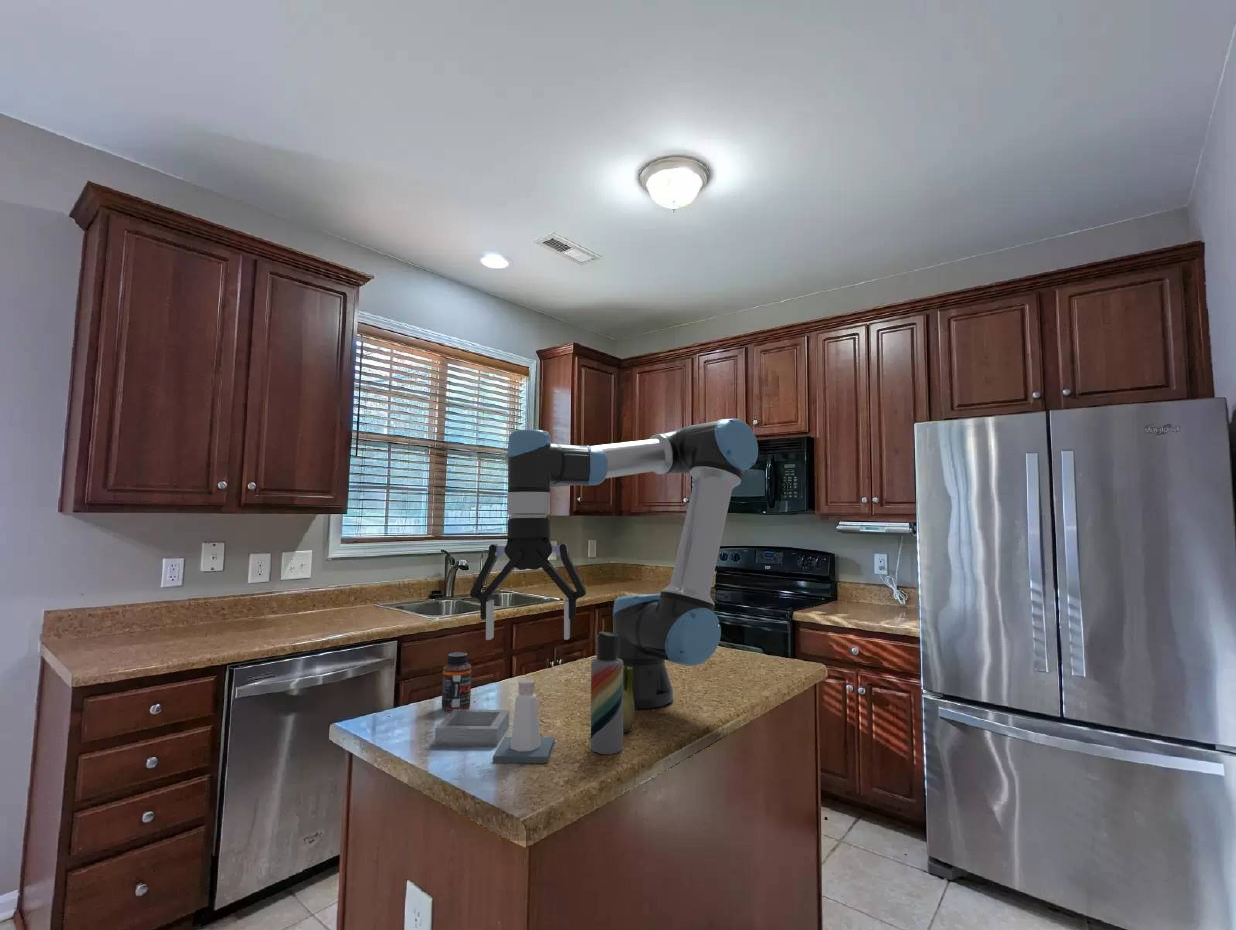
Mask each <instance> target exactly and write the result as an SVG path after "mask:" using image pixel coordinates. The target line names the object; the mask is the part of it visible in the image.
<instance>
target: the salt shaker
mask: <svg viewBox="0 0 1236 930" xmlns="http://www.w3.org/2000/svg"><path fill="white" fill-rule="evenodd" d="M535 683H536V681H535V680H534V679H531V678H524V679H520V680H519V681H518V683H517V684H518V694H516V696H515V703H514V711H513V712H514V713H513V720H512V721H513V722H512V730H511V731H512V732H511V737H512V738H511V747H510V748H511V749H512V750H515V751H518V752H528V751H533V750H536V749H538V748H540V737H541V733H540V721H539V711H538V708H539V707H538V706H539V705H538V698H537V697H538V696H537V694H536V693H535V691H534V690H535Z"/></svg>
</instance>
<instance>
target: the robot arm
mask: <svg viewBox="0 0 1236 930" xmlns="http://www.w3.org/2000/svg"><path fill="white" fill-rule="evenodd" d="M758 455H759V445H758V441H757V438H756V435H755V433H754V431H753V429H752V428H751V426H749V424H747V423H746V422H745V421H743V420H741V419H739V418H721V419H719V420H714V421H710V422H704V423H699V424H698V423H697V424H693V425H689V426H685V427H682V428H678V429H676V430H675V429H674V430H672V431H668V432H664V433H657V434H653V435H651V436H650V437H649V438H648V439H643V440H634V441H623V442H615V443H606V444H597V445H588V444H587V445H573V444H558V443H553V442H552V440H551V435H550V433H549V432H548V431H547V430H541V429H517V430H515V431H512V432H510V434H509V435H508V443H507V454H506V458H507V488H508V489H507V506H506V507H507V515H508V516H510V518H508V519H507V522H506V523H507V524H506V525H507V528H506V529H507V531H506V532H507V533H506V534H507V536H506V537H507V538H506V544H505V545H498V544H497V543H492V544H490V545H489V547H488V551H487V552H488V553H487V558H486V560H485V562H484V564H483V566H482V568H481V569H480V572H479V573H478V576H477V578H476V580H475V582H474V584H473V586H472V588H471V590H470V592H469V596H470V598H473V599H476V600H478V601H479V602H480V603H479V604H480V607H479V608H480V609H479V610H480V611H479V612H480V613H479V615H480V619H481V620H482V621H483V620H485V640H486V641H490V640H492V639H493V638H494V636H495V599H490V598H491V596H492V595H494V594H495V592H496V591H497V590H498V588H499V587H500V586H501V585H502V583H503V582H504V581H505V580H506V579H507V578H508V577H509V575H510V574H511V573H512V572H513V571H514V570H515V569H517V570H519V571H524V570H533V571H537V570H539V569H540V568H541V569H542V570H543V571H544V572H545V573H546V574H547V576H548V577H550V579H551V580H552V581H553V582H554V584H555V585H556V586H557V587H558V588H559V590H560V591H561V592H562V593H563V594H564V596H565V597H566V598H567V599H564V600H563V621H564V622H563V639H564V640H566V641H567V640H569V639H570V637H571V620H575V619H576V616H577V600H578V599H580V598H583V597H585V596H586V594H587V589H586V587H585V585H584V583H583V581H582V579H581V577H580V575H579V573H578V571H577V569H576V567H575V565H574V564H573V561H572V559H571V557H570V556H569V555H570V554H569V546H568V544H567V543H561V544H557V545H556V544H555V545H553V544H552V543H551V521H550V517H548V516H549V515H550V514H551V488H558V487H559V488H560V487H568V486H585V487H589V486H598V485H601V483H603V482H604V481H605V479H611V478H618V477H624V476H632V475H637V474H643V473H652V472H653V473H654V474H658V475H665V474H690V475H691V477H692V479H693V485H692V489H691V494H690V497H689V502H688V507H687V509H686V510H687V511H686V514H685V520H684V523H683V527H682V533H681V537H680V540H679V545H678V549H677V554H676V558H675V561H674V566H673V570H672V574H671V579H670V583H669V585H668V586H666V587H664V588H663V589H661V591H660V593H650V594H649V593H648V594H635V595H624V596H622V595H621V596H619V597H617V598H616V599H615V600H614V602H613V609H612V611H613V612H612V618H613V619H612V620H613V621H612V622H613V623H612V624H613V627H612V631H613V632H612V633H614V634H616V635H617V636H618V658H619V659H622V660H623V666H625V670H626V667H632V668H633V675H632V693H633V699H634V706H635V709H643V710H645V709H653V708H654V709H656V708H661V707H665V706H667V705H666V704H668V703H670V704H671V703H672V702H673V701H674V688H673V685H672V682H671V679H670V675H669V673H668V670H667V666H666V661H669V662H671V663H674V664H677V665H680V666H681V665H685V666H689V667H691V666H692V667H693V666H694V667H695V666H699V665H702V664H704V663H705V662H706V661H707V660H709V659H710V658H711V657H712V656H713V655H714V654H715V652H716V650H717V649H718V646H719V644H720V641H721V635H722V629H721V624H720V620H719V618H718V616H717V614H715V612H714V610H715V606H716V605H715V602H714V600H713V598H712V596H711V589H712V585H713V580H714V577H715V576H714V575H715V572H716V571H715V570H716V566H717V561H718V557H719V553H720V552H719V551H720V549H721V548H720V547H721V542H722V538H723V534H724V528H725V525H726V520H727V515H728V510H729V506H730V501H731V496H732V492H733V489H734V488H736V487H738V486H739V485H741V483H742V478H743V474H744V471H747V470H748V469H751V468H752V467H753V466H754V465H755V464H756V462H757V460H758V458H759V456H758ZM503 553H504V554H505V555H506V556H507V558H508V559H509V560H508V562H507V563H506V564H505V565H504V567H503V568H502V569H501V571H500V572H499V573H498V574H497V575H496V577H495V578H494V579H493V580H492V581H491V583H490V584H489V585H488V586H487V588H486V589H485V590H484V591H482V590H483V587H484V586H485V584H486V583H487V580H488V578H489V576H490V575H491V572H492V571H493V568H494V566H495V564H496V562H497V559H498V558H499V557H501V556H502V554H503ZM552 553H555V554H556V556H557V557H559V558H560V559H561V562H562V565H563V566H564V569H565V570H566V573H567V574H568V576H569V579H570V580H571V582H572V584H573V586H574V589H576V590H575V591H574V590H573V588H572V587H571V586H570V585H569V583H567V581H566V580H565V579H564V578H563V577H562V575H561V574H560V573H559V571H558V570H557V569H556V568H555V567H554V565H553V564H552V563H551V562H550V561H549V558H550V556H551V555H552ZM672 700H673V701H672ZM671 701H672V702H671ZM664 705H665V706H664ZM668 705H669V704H668ZM655 707H656V708H655Z"/></svg>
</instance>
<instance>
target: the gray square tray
mask: <svg viewBox="0 0 1236 930" xmlns="http://www.w3.org/2000/svg"><path fill="white" fill-rule="evenodd" d="M509 727H510V709H478V708H477V709H475V708H474V709H473V708H472V709H469V708H468V709H453V710H452V711H451V712H449V713H448V714H447V715H446V716H445V718H443V720H442V721H441V722H440V723H439V724H438V725H437V726H435V729H434V746H435V747H481V748H482V747H486V748H487V747H491V748H492V747H493V748H496V747H497V746H498V745H499V743H501V740H502V739H503V737H504V735H505V733H507V730H508V728H509ZM497 748H498V747H497Z"/></svg>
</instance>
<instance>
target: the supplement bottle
mask: <svg viewBox="0 0 1236 930" xmlns="http://www.w3.org/2000/svg"><path fill="white" fill-rule="evenodd" d="M471 688H472V665H471V664H470V663H469V662H468V653H466V652H458V651H457V652H453V653H452V652H451V653H449V654H447V663H446V664H445V665H444V666H443V667H442V689H441V709H442V710H443V711H444V712H449V713H450V712H451V711H452V710H453V709H469V708H470V706H471V691H472V689H471Z"/></svg>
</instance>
